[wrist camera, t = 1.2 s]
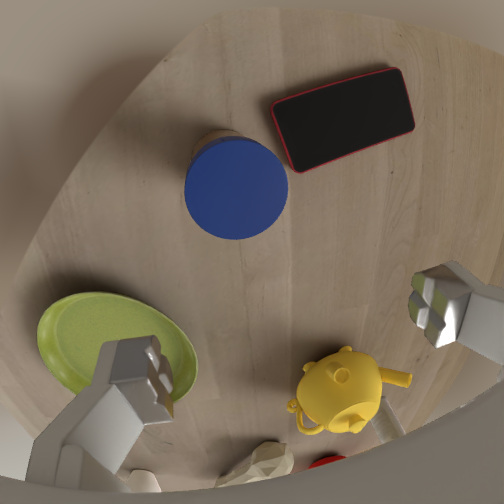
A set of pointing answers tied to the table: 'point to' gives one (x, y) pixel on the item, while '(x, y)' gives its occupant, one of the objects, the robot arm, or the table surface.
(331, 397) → the teapot
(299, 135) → the smartphone
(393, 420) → the container
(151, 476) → the mug
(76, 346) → the saucer
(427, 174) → the table surface
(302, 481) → the robot arm
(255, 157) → the jar lid
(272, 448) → the faceted club
